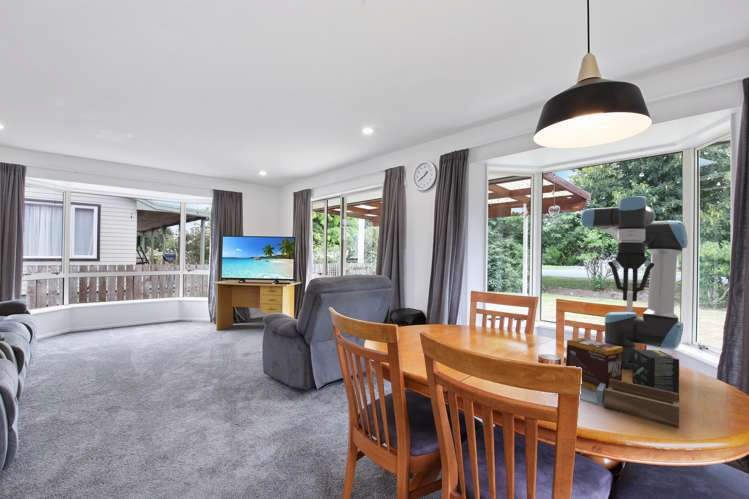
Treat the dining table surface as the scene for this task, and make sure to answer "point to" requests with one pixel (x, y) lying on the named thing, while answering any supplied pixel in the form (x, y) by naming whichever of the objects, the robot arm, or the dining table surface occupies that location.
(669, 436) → the dining table surface
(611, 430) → the dining table surface
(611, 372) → the supplement box
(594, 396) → the cover plate
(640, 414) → the grooved box
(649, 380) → the tampon box
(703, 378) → the dining table surface
